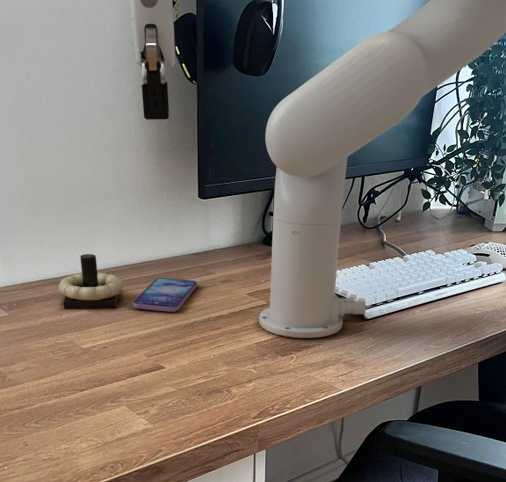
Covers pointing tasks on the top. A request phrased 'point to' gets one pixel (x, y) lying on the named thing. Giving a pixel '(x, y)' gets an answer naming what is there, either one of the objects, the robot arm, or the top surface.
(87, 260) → the peg stand
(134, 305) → the smartphone
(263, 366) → the top surface
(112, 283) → the segmented ring
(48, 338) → the top surface
